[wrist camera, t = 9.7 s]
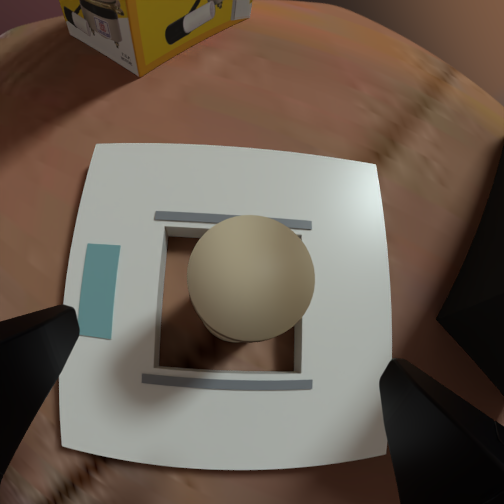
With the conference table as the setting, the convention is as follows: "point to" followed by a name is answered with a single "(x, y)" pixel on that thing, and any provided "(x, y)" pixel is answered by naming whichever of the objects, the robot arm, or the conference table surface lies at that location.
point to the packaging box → (149, 27)
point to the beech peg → (250, 279)
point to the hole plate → (222, 381)
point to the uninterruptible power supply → (482, 291)
